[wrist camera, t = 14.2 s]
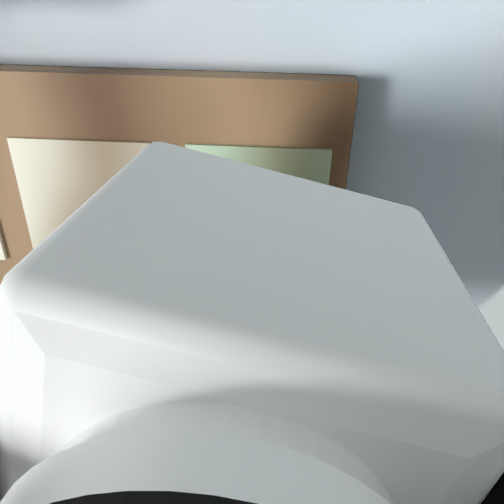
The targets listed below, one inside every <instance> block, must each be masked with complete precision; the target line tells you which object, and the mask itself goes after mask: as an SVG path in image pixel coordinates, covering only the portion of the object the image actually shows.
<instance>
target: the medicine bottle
mask: <svg viewBox="0 0 504 504" xmlns="http://www.w3.org/2000/svg"><path fill="white" fill-rule="evenodd" d="M503 473H504V350H503V349H502V347H501V345H500V344H499V342H498V341H497V339H496V337H495V336H494V334H493V332H492V330H491V329H490V327H489V325H488V324H487V322H486V320H485V319H484V317H483V315H482V314H481V312H480V310H479V309H478V307H477V305H476V304H475V302H474V300H473V299H472V297H471V295H470V294H469V292H468V290H467V289H466V287H465V285H464V284H463V282H462V280H461V279H460V277H459V275H458V274H457V272H456V270H455V269H454V267H453V265H452V264H451V262H450V260H449V259H448V257H447V255H446V254H445V252H444V250H443V249H442V247H441V245H440V244H439V242H438V240H437V239H436V237H435V235H434V234H433V232H432V230H431V229H430V227H429V225H428V224H427V222H426V220H425V219H424V217H423V215H422V214H421V212H420V211H419V210H417V209H415V208H413V207H410V206H407V205H403V204H399V203H395V202H391V201H387V200H384V199H380V198H376V197H372V196H368V195H364V194H361V193H357V192H353V191H349V190H345V189H342V188H338V187H334V186H330V185H326V184H322V183H319V182H315V181H311V180H307V179H303V178H299V177H296V176H292V175H288V174H284V173H280V172H276V171H273V170H269V169H265V168H261V167H257V166H253V165H250V164H246V163H242V162H238V161H234V160H230V159H227V158H223V157H219V156H215V155H211V154H208V153H204V152H200V151H196V150H192V149H188V148H185V147H181V146H177V145H173V144H169V143H165V142H152V143H150V144H149V145H147V146H146V147H145V148H144V149H143V150H142V151H141V152H139V153H138V154H137V155H136V156H135V157H134V158H133V159H132V160H131V161H130V162H128V163H127V164H126V165H125V166H124V167H123V168H122V169H121V170H120V171H119V172H117V173H116V174H115V175H114V176H113V177H112V178H111V179H110V180H109V181H108V182H106V183H105V184H104V185H103V186H102V187H101V188H100V189H99V190H98V191H97V192H96V193H94V194H93V195H92V196H91V197H90V198H89V199H88V200H87V201H86V202H85V203H83V204H82V205H81V206H80V207H79V208H78V209H77V210H76V211H75V212H74V213H72V214H71V215H70V216H69V217H68V218H67V219H66V220H65V221H64V222H63V223H62V224H60V225H59V226H58V227H57V228H56V229H55V230H54V231H53V232H52V233H51V234H49V235H48V236H47V237H46V238H45V239H44V240H43V241H42V242H41V243H40V244H38V245H37V246H36V247H35V248H34V249H33V250H32V251H31V252H30V253H29V254H28V255H26V256H25V257H24V258H23V259H22V260H21V261H20V262H19V263H18V264H17V265H15V266H14V267H13V268H12V269H11V270H10V271H9V272H8V273H7V274H6V275H5V276H4V278H3V280H2V282H1V284H0V504H481V503H482V502H483V500H484V499H485V497H486V496H487V495H488V493H489V492H490V491H491V489H492V488H493V486H494V485H495V484H496V482H497V481H498V480H499V478H500V477H501V476H502V474H503Z"/></svg>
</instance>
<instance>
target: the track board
mask: <svg viewBox="0 0 504 504" xmlns="http://www.w3.org/2000/svg"><path fill="white" fill-rule="evenodd" d="M358 85H359V82H358V80H357V79H356V77H355V76H354V75H329V74H296V73H264V72H231V71H199V70H166V69H134V68H101V67H68V66H36V65H3V64H0V284H1V282H2V280H3V278H4V276H5V275H6V274H7V273H8V272H9V271H10V270H11V269H12V268H13V267H14V266H15V265H17V264H18V263H19V262H20V261H21V260H22V259H23V258H24V257H25V256H26V255H28V254H29V253H30V252H31V251H32V250H33V249H34V248H35V247H36V246H37V245H38V244H40V243H41V242H42V241H43V240H44V239H45V238H46V237H47V236H48V235H49V234H51V233H52V232H53V231H54V230H55V229H56V228H57V227H58V226H59V225H60V224H62V223H63V222H64V221H65V220H66V219H67V218H68V217H69V216H70V215H71V214H72V213H74V212H75V211H76V210H77V209H78V208H79V207H80V206H81V205H82V204H83V203H85V202H86V201H87V200H88V199H89V198H90V197H91V196H92V195H93V194H94V193H96V192H97V191H98V190H99V189H100V188H101V187H102V186H103V185H104V184H105V183H106V182H108V181H109V180H110V179H111V178H112V177H113V176H114V175H115V174H116V173H117V172H119V171H120V170H121V169H122V168H123V167H124V166H125V165H126V164H127V163H128V162H130V161H131V160H132V159H133V158H134V157H135V156H136V155H137V154H138V153H139V152H141V151H142V150H143V149H144V148H145V147H146V146H147V145H149V144H150V143H152V142H165V143H169V144H173V145H177V146H181V147H185V148H188V149H192V150H196V151H200V152H204V153H208V154H211V155H215V156H219V157H223V158H227V159H230V160H234V161H238V162H242V163H246V164H250V165H253V166H257V167H261V168H265V169H269V170H273V171H276V172H280V173H284V174H288V175H292V176H296V177H299V178H303V179H307V180H311V181H315V182H319V183H322V184H326V185H330V186H334V187H338V188H342V189H346V181H347V173H348V165H349V157H350V149H351V141H352V133H353V125H354V117H355V109H356V101H357V93H358Z"/></svg>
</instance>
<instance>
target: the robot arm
mask: <svg viewBox="0 0 504 504" xmlns="http://www.w3.org/2000/svg"><path fill="white" fill-rule="evenodd" d="M481 504H504V473H503V474H502V476H501V477H500V478H499V480H498V481H497V482H496V484H495V485H494V486H493V488H492V489H491V491H490V492H489V493H488V495H487V496H486V497H485V499H484V500H483V502H482V503H481Z"/></svg>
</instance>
